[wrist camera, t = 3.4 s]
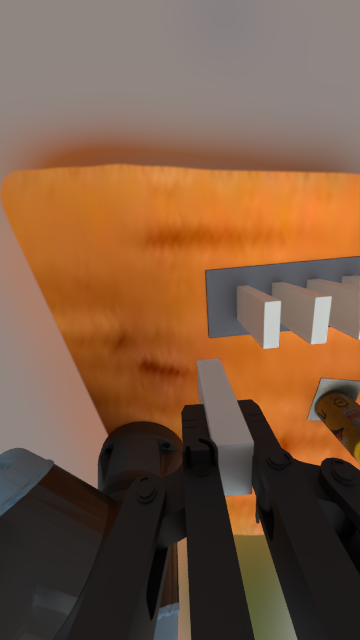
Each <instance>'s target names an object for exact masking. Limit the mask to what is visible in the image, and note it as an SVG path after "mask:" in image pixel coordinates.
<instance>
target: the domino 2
mask: <svg viewBox="0 0 360 640" xmlns="http://www.w3.org/2000/svg"><path fill="white" fill-rule="evenodd" d="M271 296H272V297H274V298H276V299H278V300H280V301H281V313H280V324H282V325H283V326H285V327H286V328H288V329H289V330H291V331H292V332H294V333H295V334H297V335H298V336H299V337H301V338H302V339H304V340H305V341H307V342H308V343H310V344H320V343H326V339H327V331H328V323H329V315H330V307H331V299H332V296H330V295H326V294H323V293H320V292H316V291H313V290H309V289H306V288H303V287H299V286H296V285H292V284H289V283H285V282H276V283H272V295H271Z"/></svg>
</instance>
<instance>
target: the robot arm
mask: <svg viewBox="0 0 360 640" xmlns="http://www.w3.org/2000/svg"><path fill="white" fill-rule="evenodd" d="M197 376H198V393H199V401H200V404H196V405H185V406H184V408H183V410H182V412H181V414H182V436H183V444H182V442H181V440H180V439H179V437H178V436H177V435H176V434H175V433H173V432H172V431H171V430H169V429H167V428H166V427H163V426H161V425H158V424H154V423H147V422H139V423H132V424H128V425H125V426H122V427H120V428H118V429H116V430H115V431H114V432H112V433H111V434H110V435H109V436H108V437H107V439H106V440H105V442H104V444H103V447H102V449H101V452H100V455H99V460H98V489H96V488H94V487H92V486H91V485H89V484H88V483H86V482H84V481H82V480H81V479H79V478H77V477H76V476H74V475H72V474H71V473H69V472H67V471H65V470H64V469H62V468H60V467H59V466H57V465H55V464H54V462H53V461H52V460H46V459H44V458H42V457H40V456H37V455H36V454H34V453H32V452H30V451H28V450H26V449H23V448H15V449H10V450H8V451H6V452H4V453H2V454H1V455H0V640H177V639H178V612H179V609H180V608H179V586H178V555H177V542H178V541H180V540H182V539H184V538H186V537H187V556H188V578H189V599H190V620H191V640H255V639H254V634H253V629H252V625H251V620H250V615H249V610H248V605H247V601H246V596H245V591H244V586H243V581H242V576H241V572H240V568H239V562H238V557H237V552H236V548H235V543H234V538H233V533H232V528H231V523H230V519H229V514H228V509H227V504H226V499H225V496H234V495H246V494H252V486H253V489H254V492H255V495H256V523H259V518H260V521H261V524H262V528H263V531H264V534H265V537H266V540H267V543H268V546H269V550H270V553H271V556H272V559H273V563H274V565H275V569H276V572H277V575H278V578H279V582H280V585H281V588H282V591H283V594H284V598H285V601H286V604H287V607H288V610H289V613H290V617H291V620H292V623H293V626H294V629H295V633H296V636H297V639H298V640H360V470H359V469H357V468H356V467H355V466H353V465H352V464H350V463H348V462H346V461H344V460H342V459H338V458H326V459H325V460H323V461H322V463H321V466H318V465H313V464H309V463H304V462H301V461H298V460H296V459H294V458H293V457H292V456H291V455H290V453H288V452H287V451H285V450H284V449H282V448H281V446H280V444H279V443H278V441H277V439H276V437H275V435H274V433H273V431H272V429H271V428H270V426H269V424H268V422H267V421H266V418H265V416H264V415H263V413H262V411H261V409H260V407H259V405H257V404H256V403H255V402H254V401H253V400H251V399H249V400H236V398H235V395H234V393H233V390H232V388H231V385H230V383H229V381H228V378H227V376H226V373H225V371H224V368H223V366H222V363H221V361H220V359H206V360H197Z"/></svg>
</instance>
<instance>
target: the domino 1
mask: <svg viewBox="0 0 360 640" xmlns="http://www.w3.org/2000/svg"><path fill="white" fill-rule="evenodd" d="M280 313H281V301H280V300H278V299H276V298H274V297H272V296H270V295H268V294H266V293H264V292H261V291H259V290H257V289H255V288H253V287H251V286H249V285H244V286H237V320H238V322H239V323H240V324H241V325H242V326H243V327H244V328H245V329H246V330H247V331H248V332H249V334H250V335H251V336H252V337H253V338H254V339H255V340H256V341H257V342H258V343H259V345H260V346H261V347H262V348H263V349H267V348H277V347H279V331H280Z"/></svg>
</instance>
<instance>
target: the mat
mask: <svg viewBox="0 0 360 640" xmlns="http://www.w3.org/2000/svg"><path fill="white" fill-rule="evenodd" d="M352 275H355V276H360V256H359V257H348V258H337V259H326V260H315V261H304V262H293V263H282V264H271V265H261V266H250V267H239V268H228V269H217V270H206V288H207V308H208V328H209V338H216V337H227V336H238V335H248V334H249V332H248V331H247V330H246V329H245V328H244V327H243V326H242V325H241V324H240V323H239V322H238V320H237V286H244V285H249V286H251V287H253V288H255V289H257V290H259V291H261V292H264V293H266V294H268V295H270V296H271V295H272V283H276V282H285V283H289V284H292V285H296V286H299V287H303V288H307V280H309V279H323V280H328V281H333V282H338V283H342V276H352ZM328 327H331V326H329V325H328ZM281 331H291V330H289V329H288V328H286V327H285V326H283V325H282V324H280V331H279V332H281Z"/></svg>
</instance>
